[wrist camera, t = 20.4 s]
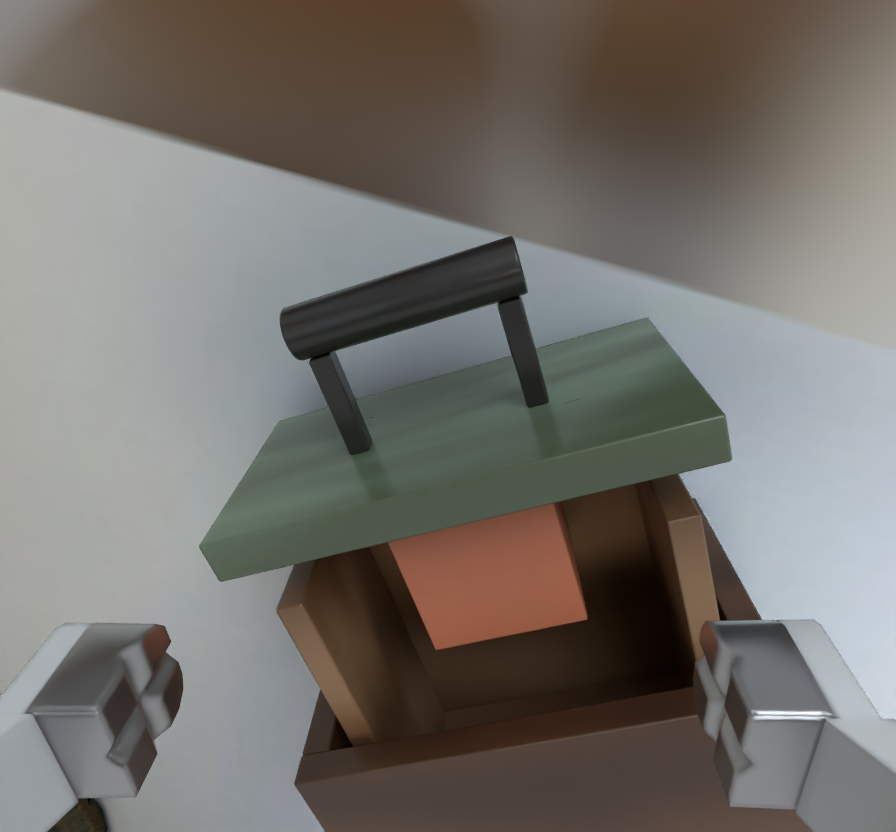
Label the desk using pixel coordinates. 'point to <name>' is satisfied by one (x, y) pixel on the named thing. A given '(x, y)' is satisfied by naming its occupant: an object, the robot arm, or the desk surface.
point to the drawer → (480, 505)
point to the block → (493, 576)
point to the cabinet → (542, 765)
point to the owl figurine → (82, 818)
